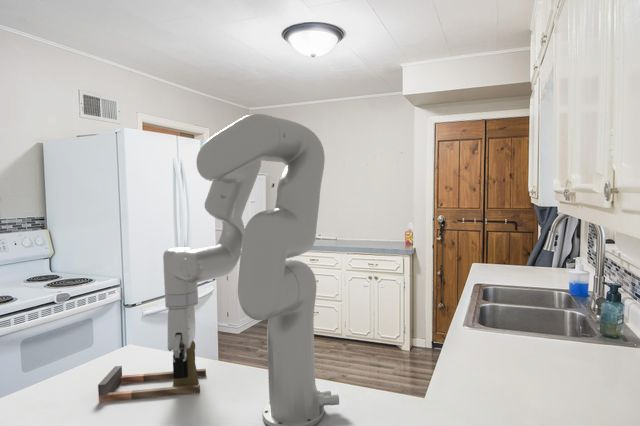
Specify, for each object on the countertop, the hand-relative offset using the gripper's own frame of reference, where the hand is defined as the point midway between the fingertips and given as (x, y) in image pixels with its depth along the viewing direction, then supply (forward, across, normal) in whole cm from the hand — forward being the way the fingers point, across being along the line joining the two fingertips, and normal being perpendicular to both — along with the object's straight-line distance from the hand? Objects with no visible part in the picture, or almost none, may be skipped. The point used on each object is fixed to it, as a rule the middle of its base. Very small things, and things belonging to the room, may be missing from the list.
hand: (184, 369), depth 100 cm
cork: (+4, 0, 0) cm, 4 cm away
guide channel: (+4, 0, -7) cm, 8 cm away
